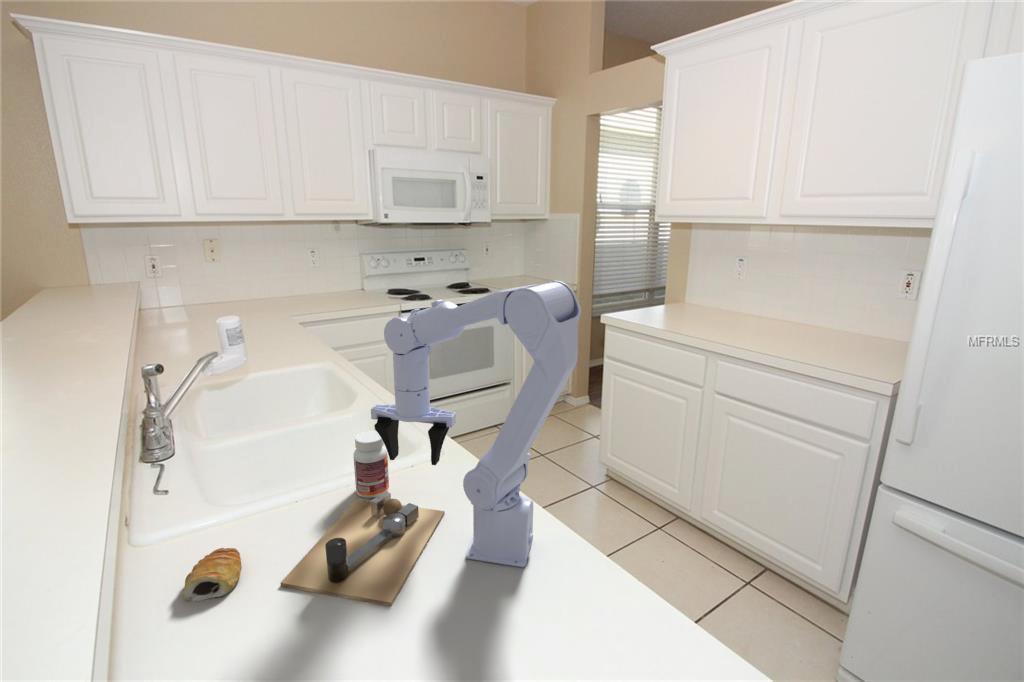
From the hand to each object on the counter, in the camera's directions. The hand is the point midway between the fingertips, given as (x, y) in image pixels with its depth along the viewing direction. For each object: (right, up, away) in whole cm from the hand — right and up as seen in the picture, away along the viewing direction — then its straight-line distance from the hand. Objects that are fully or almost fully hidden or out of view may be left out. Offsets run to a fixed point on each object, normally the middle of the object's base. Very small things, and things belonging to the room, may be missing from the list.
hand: (414, 459), depth 87 cm
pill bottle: (-10, -8, +10) cm, 16 cm away
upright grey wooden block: (-6, -10, +2) cm, 12 cm away
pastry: (-26, -15, -14) cm, 33 cm away
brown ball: (-4, -8, 0) cm, 9 cm away
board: (-6, -12, -6) cm, 15 cm away
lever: (-5, -12, -8) cm, 15 cm away
